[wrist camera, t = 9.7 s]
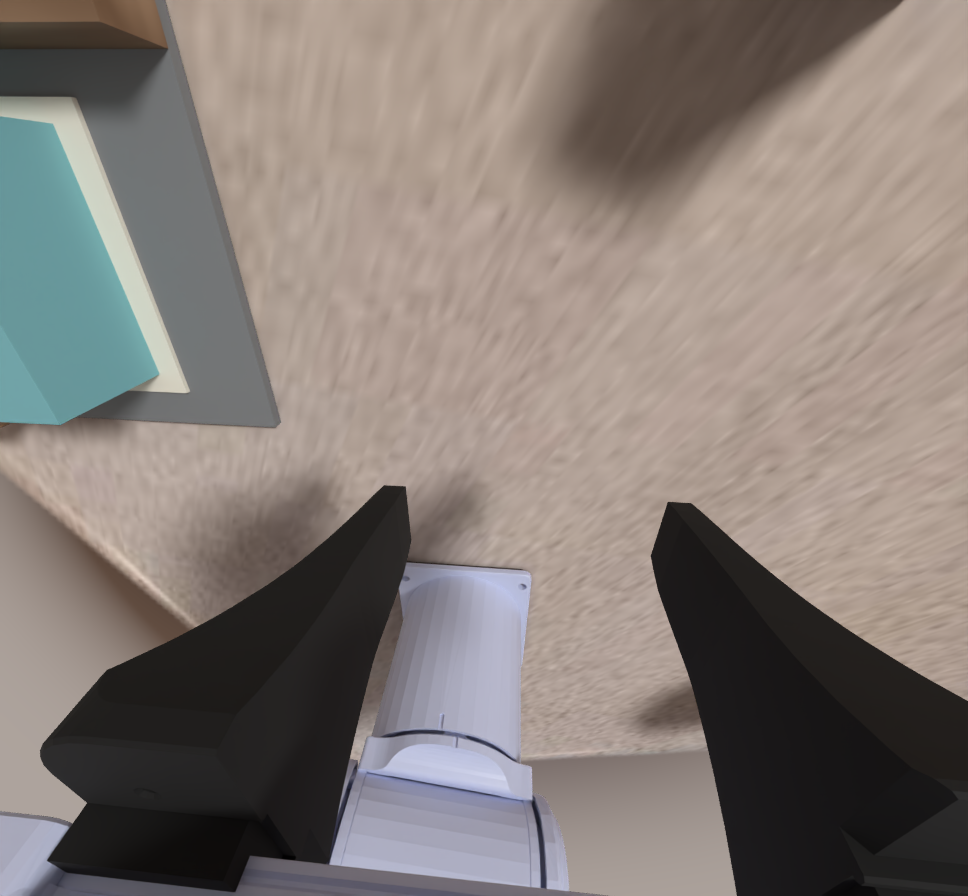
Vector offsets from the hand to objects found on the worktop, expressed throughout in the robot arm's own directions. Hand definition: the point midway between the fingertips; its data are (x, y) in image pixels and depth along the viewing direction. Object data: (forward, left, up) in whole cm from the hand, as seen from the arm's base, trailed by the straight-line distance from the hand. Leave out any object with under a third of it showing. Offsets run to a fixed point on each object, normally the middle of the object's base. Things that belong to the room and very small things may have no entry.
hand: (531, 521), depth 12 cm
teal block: (+5, +19, -8) cm, 21 cm away
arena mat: (+5, +19, -8) cm, 22 cm away
